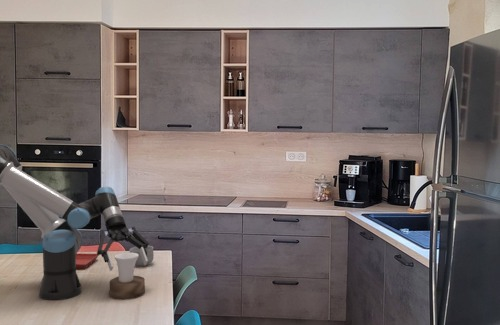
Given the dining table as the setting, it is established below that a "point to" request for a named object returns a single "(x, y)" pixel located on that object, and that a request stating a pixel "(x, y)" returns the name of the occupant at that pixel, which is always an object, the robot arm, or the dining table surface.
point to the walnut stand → (127, 288)
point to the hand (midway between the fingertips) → (129, 265)
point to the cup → (126, 265)
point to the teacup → (139, 260)
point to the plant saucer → (85, 260)
